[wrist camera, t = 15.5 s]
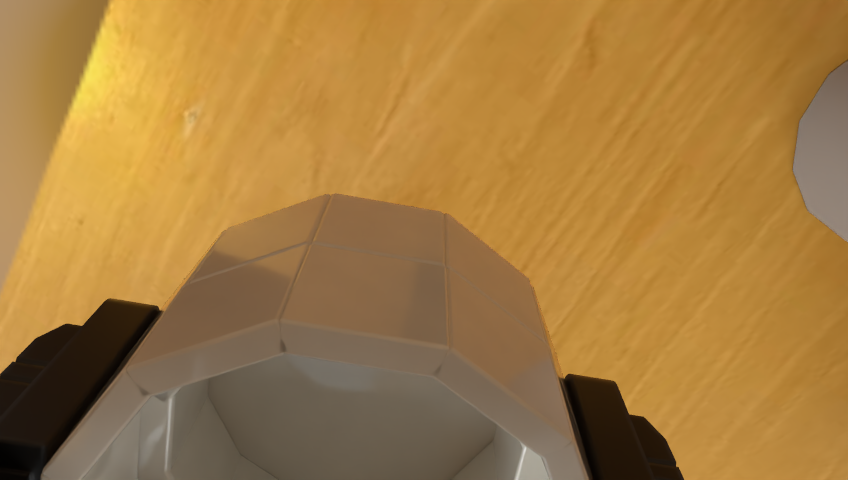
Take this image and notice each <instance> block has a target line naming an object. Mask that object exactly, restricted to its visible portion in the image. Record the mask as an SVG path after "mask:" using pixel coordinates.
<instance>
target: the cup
mask: <svg viewBox="0 0 848 480" xmlns="http://www.w3.org/2000/svg"><path fill="white" fill-rule="evenodd" d="M793 172H794V175H795V177H796V180H797V183H798V185H799V188H800V191H801V194H802V196H803V199H804V202H805V204H806V207H807V210H808V211H809V212H810V213H811V214H812V215H814V216H815V217H816V218H818V219H819V220H820V221H821V222H823V223H824V224H825V225H826V226H828V227H829V228H830V229H831V230H833V231H834V232H835V233H836V234H838V235H839V236H840V237H841V238H843V239H844V240H845V241H847V242H848V60H847V61H846V62H845V63H843V64H842V65H841V66H839V67H838V68H837V69H835V70H834V71H833V72H831V73H830V74H829V75H828V77H827V78H826V80H825V81H824V83H823V84H822V86H821V88H820V89H819V91H818V92H817V94H816V96H815V97H814V99H813V100H812V102H811V104H810V105H809V107H808V108H807V110H806V112H805V113H804V115H803V116H802V118H801V120H800V122H799V129H798V136H797V143H796V150H795V157H794V164H793Z"/></svg>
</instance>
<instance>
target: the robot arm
mask: <svg viewBox="0 0 848 480" xmlns="http://www.w3.org/2000/svg"><path fill="white" fill-rule="evenodd" d="M159 311H160V310H159V308H158V306H154V305H148V304H142V303H136V302H130V301H123V300H117V299H111V298H110V299H107V300H106V301H105V302H104V303H103V304H102V305H101V306H100V307H99V308H98V309H97V310H96V311H95V313H94V314H93V315H92V316H91V317H90V318H89V319H88V320H87V321H86V322H85V324H84V325H83V326H79V325H72V324H65V325H62V326H60V327H58V328H56V329H54V330H52V331H50V332H48V333H46V334H44V335H42V336H40V337H37V338H36V339H35V340H34V341H33V342H32V343H31V344H30V345H29V346H28V347H27V348H26V349H25V350H24V351H23V352H22V353H21V354H20V355H19V356H18V357H17V359H16V362H12V363H11V364H10V365H9V366H8V367H7V368H6V369H5V370H4V371H3V372H2V373H1V374H0V480H40V476H41V474H42V470H43V468H44V466H45V465H46V464H47V462H48V461H49V460H50V458H51V457H52V456H53V454H54V453H55V451H56V450H57V449H58V447H59V446H60V445H61V443H62V442H63V441H64V439H65V438H66V437H67V435H68V434H69V433H70V431H71V430H72V428H73V427H74V426H75V424H76V423H77V422H78V420H79V419H80V418H81V416H82V415H83V414H84V412H85V411H86V410H87V408H88V407H89V405H90V404H91V403H92V401H93V400H94V399H95V397H96V396H97V395H98V393H99V392H100V391H101V389H102V388H103V386H104V385H105V384H106V382H107V381H108V380H109V378H110V377H111V376H112V374H113V373H114V372H115V370H116V369H117V368H118V366H119V365H120V364H121V362H122V361H123V359H124V358H125V357H126V355H127V354H128V353H129V351H130V350H131V349H132V347H133V346H134V345H135V343H136V342H137V341H138V339H139V338H140V336H141V335H142V334H143V332H144V331H145V330H146V328H147V327H148V326H149V324H150V323H151V322H152V320H153V319H154V318H155V316H156V315H157V313H158V312H159ZM564 380H565V384H566V387H567V390H568V394H569V397H570V401H571V404H572V408H573V411H574V415H575V418H576V422H577V425H578V428H579V432H580V435H581V440H582V443H583V446H584V449H585V452H586V456H587V459H588V462H589V466H590V469H591V473H592V476H593V480H684V478H683V476H682V474H681V472H680V470H679V467H676V461H675V459H674V456H673V454H672V452H671V450H670V448H669V445H668V443H667V441H666V439H665V438H664V437H663V436H662V435H661V434H660V433H659V432H658V431H657V430H656V429H655V428H654V427H653V426H652V425H651V424H650V423H649V422H648V421H647V420H646V419H645V418H644V417H641V416H635V415H629V413H628V411H627V408H626V406H625V403H624V401H623V399H622V396H621V394H620V391H619V389H618V386H617V384H616V383H615V382H614V381H611V380H605V379H599V378H593V377H587V376H580V375H574V374H568V375H567V376H566V377H565V379H564Z"/></svg>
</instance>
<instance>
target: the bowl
mask: <svg viewBox="0 0 848 480" xmlns="http://www.w3.org/2000/svg"><path fill="white" fill-rule="evenodd" d="M40 480H593V476H592V473H591V469H590V466H589V462H588V459H587V456H586V452H585V449H584V446H583V443H582V440H581V435H580V432H579V428H578V425H577V422H576V418H575V415H574V411H573V408H572V404H571V401H570V397H569V394H568V390H567V387H566V384H565V380H564V377H563V373H562V370H561V367H560V364H559V361H558V358H557V355H556V352H555V349H554V346H553V343H552V340H551V337H550V334H549V331H548V329H547V326H546V323H545V320H544V317H543V314H542V311H541V308H540V305H539V302H538V299H537V296H536V293H535V290H534V287H533V286H532V285H531V284H530V280H529V278H527V277H526V276H525V275H524V274H522V273H521V272H520V271H519V270H517V269H516V268H515V267H514V266H513V265H511V264H510V263H509V262H508V261H506V260H505V259H504V258H503V257H501V256H500V255H499V254H498V253H496V252H495V251H494V250H493V249H491V248H490V247H489V246H488V245H486V244H485V243H484V242H483V241H481V240H480V239H479V238H478V237H476V236H475V235H474V234H473V233H471V232H470V231H469V230H468V229H467V228H465V227H464V226H463V225H462V224H460V223H459V222H458V221H457V220H455V219H454V218H453V217H452V216H450V215H449V214H447V213H446V214H444V213H442V212H440V211H434V210H428V209H423V208H417V207H411V206H405V205H399V204H394V203H388V202H382V201H376V200H370V199H365V198H359V197H353V196H347V195H342V194H332V195H331V196H330V195H329V194H325V195H322V196H319V197H316V198H313V199H310V200H307V201H304V202H301V203H299V204H296V205H293V206H290V207H287V208H284V209H281V210H278V211H275V212H273V213H270V214H267V215H264V216H261V217H258V218H255V219H252V220H250V221H247V222H244V223H241V224H238V225H235V226H232V227H229V228H228V229H227V230H225V231H223V232H221V234H220V235H219V236H218V237H217V239H216V240H215V241H214V242H213V244H212V245H211V246H210V247H209V249H208V250H207V251H206V252H205V254H204V255H203V256H202V258H201V259H200V260H199V261H198V263H197V264H196V265H195V266H194V268H193V269H192V270H191V271H190V273H189V274H188V275H187V276H186V278H185V279H184V280H183V281H182V283H181V284H180V285H179V286H178V288H177V289H176V290H175V291H174V293H173V294H172V295H171V296H170V298H169V299H168V300H167V301H166V303H165V304H164V305H163V307H162V308H161V309H160V311H159V312H158V313H157V315H156V316H155V318H154V319H153V320H152V322H151V323H150V324H149V326H148V327H147V328H146V330H145V331H144V332H143V334H142V335H141V336H140V338H139V339H138V341H137V342H136V343H135V345H134V346H133V347H132V349H131V350H130V351H129V353H128V354H127V355H126V357H125V358H124V359H123V361H122V362H121V364H120V365H119V366H118V368H117V369H116V370H115V372H114V373H113V374H112V376H111V377H110V378H109V380H108V381H107V382H106V384H105V385H104V386H103V388H102V389H101V391H100V392H99V393H98V395H97V396H96V397H95V399H94V400H93V401H92V403H91V404H90V405H89V407H88V408H87V410H86V411H85V412H84V414H83V415H82V416H81V418H80V419H79V420H78V422H77V423H76V424H75V426H74V427H73V428H72V430H71V431H70V433H69V434H68V435H67V437H66V438H65V439H64V441H63V442H62V443H61V445H60V446H59V447H58V449H57V450H56V451H55V453H54V454H53V456H52V457H51V458H50V460H49V461H48V462H47V464H46V465H45V466H44V468H43V470H42V474H41V476H40Z"/></svg>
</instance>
